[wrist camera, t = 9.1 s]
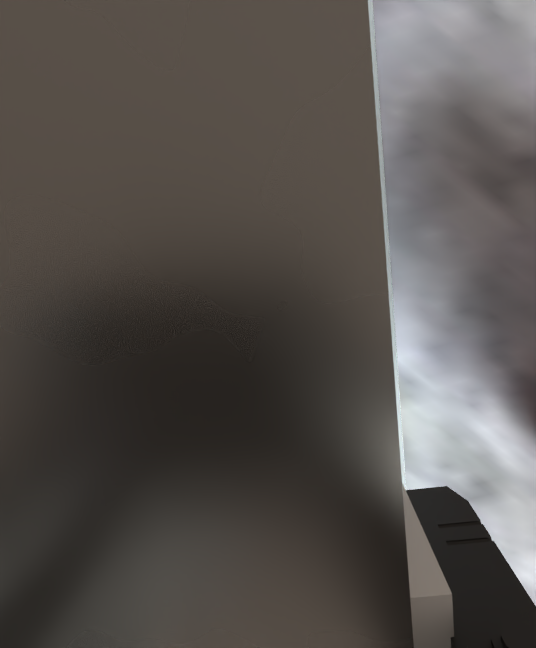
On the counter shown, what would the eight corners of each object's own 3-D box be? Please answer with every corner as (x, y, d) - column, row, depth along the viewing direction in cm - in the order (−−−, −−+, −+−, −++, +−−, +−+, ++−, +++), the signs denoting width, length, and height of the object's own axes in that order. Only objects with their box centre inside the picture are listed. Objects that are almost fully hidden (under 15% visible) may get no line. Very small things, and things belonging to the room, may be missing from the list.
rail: (49, -8, 8) (-349, -379, 3) (301, -48, 8) (342, -524, 3) (229, 864, 12) (197, 1299, 7) (389, 854, 12) (464, 1295, 7)
